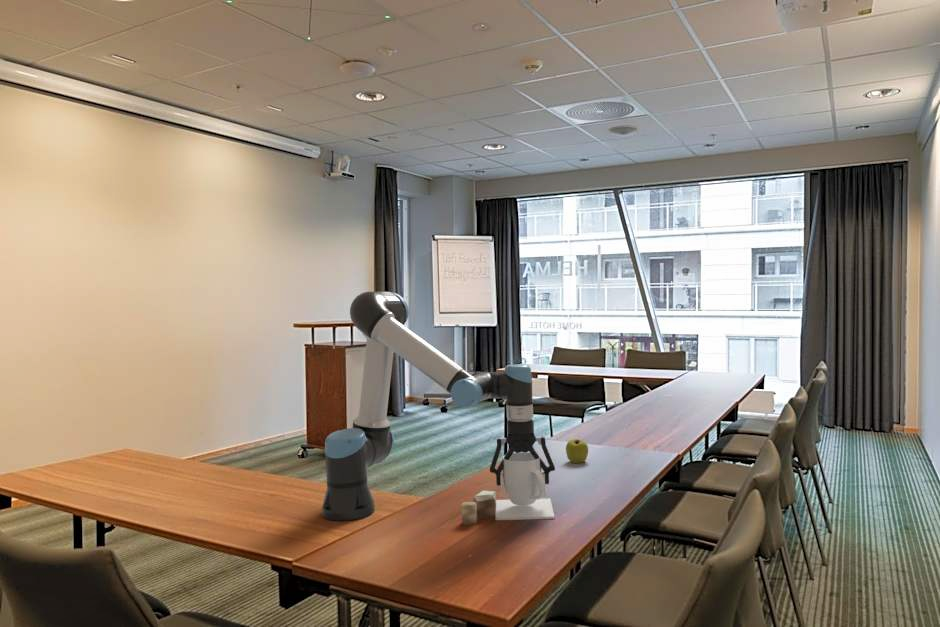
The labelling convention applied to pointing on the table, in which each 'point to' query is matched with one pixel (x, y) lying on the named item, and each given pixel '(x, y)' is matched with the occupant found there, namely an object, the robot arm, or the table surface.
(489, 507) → the walnut block
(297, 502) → the table surface
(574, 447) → the apple
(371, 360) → the robot arm
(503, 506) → the pad
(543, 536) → the table surface
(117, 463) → the table surface
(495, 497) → the sage block
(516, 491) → the mug
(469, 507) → the beech cylinder
